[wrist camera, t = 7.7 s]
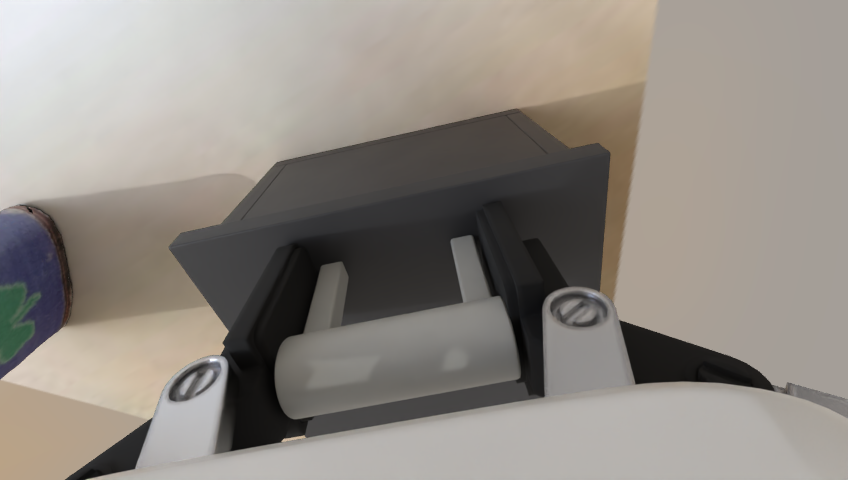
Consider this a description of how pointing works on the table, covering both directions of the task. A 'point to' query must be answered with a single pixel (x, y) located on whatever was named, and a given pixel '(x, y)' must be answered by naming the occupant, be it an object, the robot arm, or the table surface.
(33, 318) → the flask
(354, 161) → the dark grey hinged box
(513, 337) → the lid
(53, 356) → the table surface
